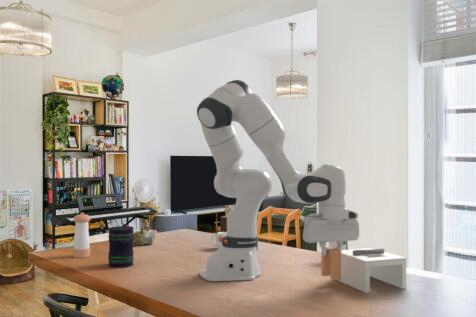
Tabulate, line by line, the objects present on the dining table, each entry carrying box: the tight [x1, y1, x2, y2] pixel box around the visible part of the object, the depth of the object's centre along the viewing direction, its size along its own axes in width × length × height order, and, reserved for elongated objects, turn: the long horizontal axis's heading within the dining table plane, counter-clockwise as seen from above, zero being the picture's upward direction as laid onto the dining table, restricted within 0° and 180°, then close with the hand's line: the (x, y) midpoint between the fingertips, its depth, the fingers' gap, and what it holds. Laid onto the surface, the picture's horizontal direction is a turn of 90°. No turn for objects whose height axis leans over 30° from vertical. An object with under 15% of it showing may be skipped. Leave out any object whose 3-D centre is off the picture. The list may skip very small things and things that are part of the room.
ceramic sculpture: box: [133, 228, 156, 246], centre depth 213 cm, size 11×9×15 cm
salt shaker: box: [72, 212, 91, 259], centre depth 185 cm, size 7×7×19 cm
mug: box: [210, 231, 227, 250], centre depth 205 cm, size 12×8×8 cm
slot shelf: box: [337, 247, 407, 294], centre depth 144 cm, size 16×18×12 cm
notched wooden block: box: [320, 246, 341, 281], centre depth 140 cm, size 3×7×10 cm, turn 22°
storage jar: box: [107, 225, 135, 269], centre depth 169 cm, size 10×10×15 cm
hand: (331, 254), depth 140 cm, fingers closed on notched wooden block, 3 cm apart
